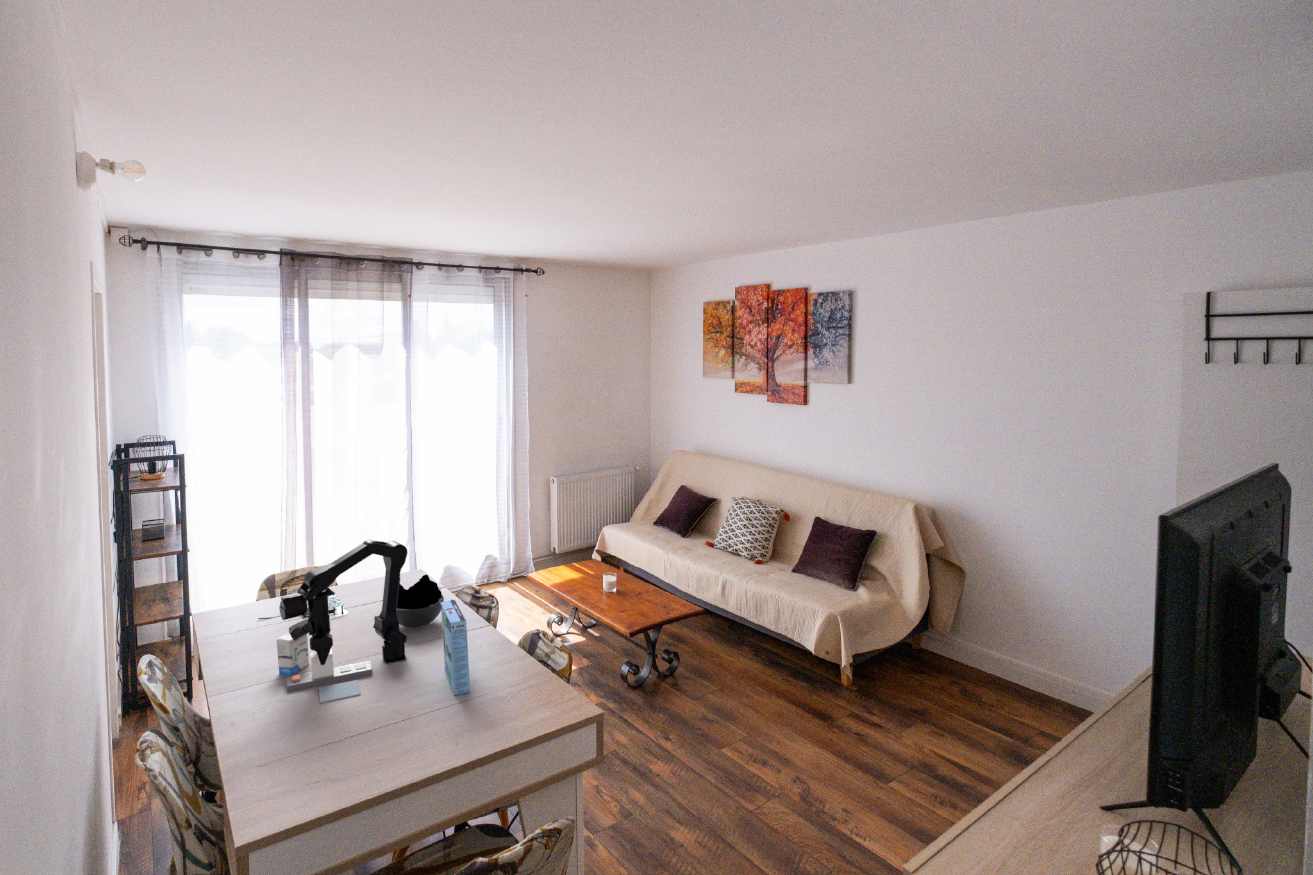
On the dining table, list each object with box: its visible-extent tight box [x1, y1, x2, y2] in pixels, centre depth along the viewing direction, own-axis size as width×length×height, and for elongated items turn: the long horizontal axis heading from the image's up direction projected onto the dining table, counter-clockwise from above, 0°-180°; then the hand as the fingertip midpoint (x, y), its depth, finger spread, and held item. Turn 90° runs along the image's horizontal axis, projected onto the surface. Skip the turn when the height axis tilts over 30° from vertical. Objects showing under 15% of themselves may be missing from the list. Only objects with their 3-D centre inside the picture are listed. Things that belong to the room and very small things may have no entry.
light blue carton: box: [440, 599, 471, 696], centre depth 219 cm, size 20×5×23 cm, turn 25°
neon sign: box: [257, 593, 349, 620], centre depth 274 cm, size 21×4×29 cm
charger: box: [310, 647, 334, 679], centre depth 220 cm, size 6×4×10 cm
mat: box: [318, 679, 361, 705], centre depth 213 cm, size 11×10×1 cm
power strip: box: [286, 660, 373, 693], centre depth 222 cm, size 24×7×3 cm, turn 117°
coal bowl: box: [396, 574, 445, 629], centre depth 262 cm, size 20×20×19 cm
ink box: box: [276, 632, 310, 676], centre depth 228 cm, size 9×5×12 cm, turn 168°
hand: (322, 658), depth 220 cm, fingers open, 9 cm apart
